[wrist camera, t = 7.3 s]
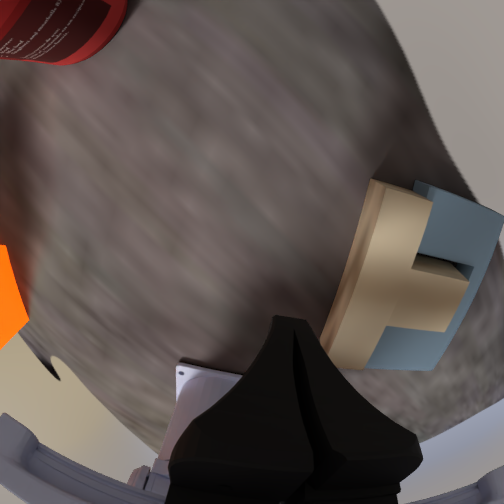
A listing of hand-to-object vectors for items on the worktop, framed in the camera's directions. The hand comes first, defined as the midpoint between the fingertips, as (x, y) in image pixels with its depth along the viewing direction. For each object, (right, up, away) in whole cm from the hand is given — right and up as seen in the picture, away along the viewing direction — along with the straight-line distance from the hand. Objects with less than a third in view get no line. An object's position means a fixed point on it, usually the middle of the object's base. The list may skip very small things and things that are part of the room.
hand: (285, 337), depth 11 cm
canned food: (-13, +20, +1) cm, 24 cm away
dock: (+10, +1, +7) cm, 13 cm away
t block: (+9, +2, +7) cm, 11 cm away
